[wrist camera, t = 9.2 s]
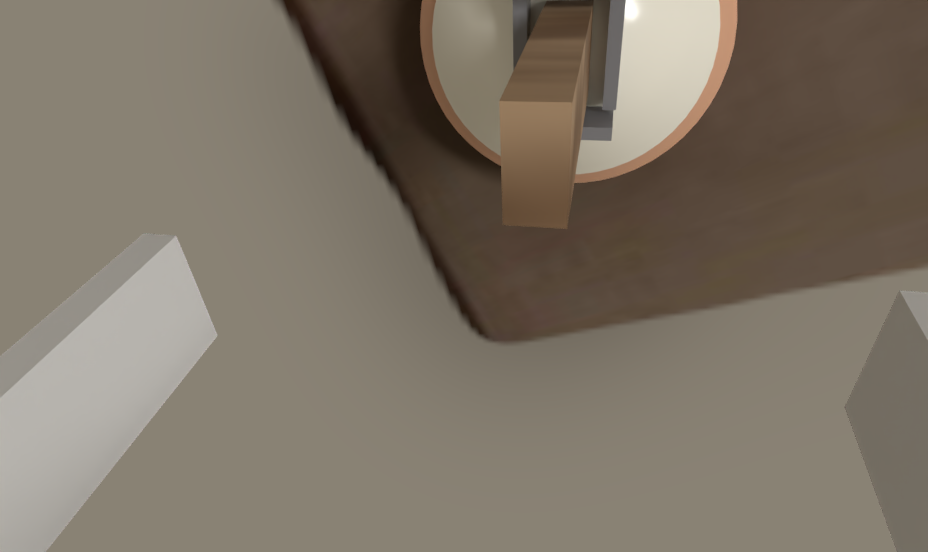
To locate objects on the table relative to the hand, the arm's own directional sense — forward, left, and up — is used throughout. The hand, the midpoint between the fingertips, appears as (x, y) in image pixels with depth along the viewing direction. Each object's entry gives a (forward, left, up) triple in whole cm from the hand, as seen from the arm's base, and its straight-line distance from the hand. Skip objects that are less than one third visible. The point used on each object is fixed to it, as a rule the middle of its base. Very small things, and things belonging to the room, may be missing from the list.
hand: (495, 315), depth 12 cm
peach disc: (+1, 0, -23) cm, 23 cm away
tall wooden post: (+1, 0, -19) cm, 19 cm away
